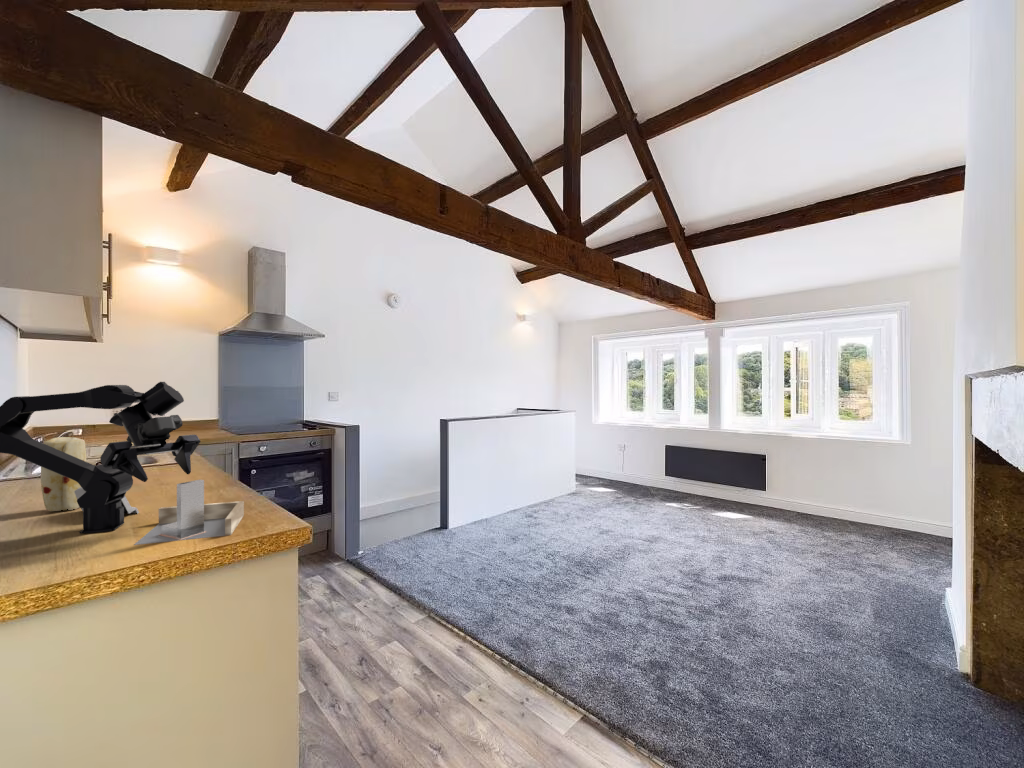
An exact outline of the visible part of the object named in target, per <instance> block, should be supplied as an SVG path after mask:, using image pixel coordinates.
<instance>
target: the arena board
mask: <svg viewBox="0 0 1024 768" xmlns="http://www.w3.org/2000/svg"><path fill="white" fill-rule="evenodd" d="M225 519H226V518H219V519H208V520H204V532H202V533H199V534H195V535H192V536H189V537H185V538H182V539H180V538H175V537H171V536H166V535H162V525H166V524H170V523H164V524H159V523H158V524H156V526H154V527H153V528H152V529H150V531H148V532H147V533H146V534H145V535H144V536H143V537H141V538H140V539H139V540H138V541H136V542H135V543H134V544H133V546H137V545H138V546H139V545H148V544H149V545H150V544H156V543H157V544H158V543H167V542H176V541H177V542H179V541H185V540H186V541H187V540H197V539H209V538H215V537H216V538H217V537H224V536H225ZM241 521H242V519H241V520H240V522H241ZM234 531H235V530H234ZM234 531H233V533H234ZM227 536H228V535H226V536H225V537H227Z"/></svg>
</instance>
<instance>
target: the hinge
mask: <svg viewBox="0 0 1024 768" xmlns="http://www.w3.org/2000/svg"><path fill="white" fill-rule="evenodd" d="M74 492H75V495H76V497H77V499H78V498H80V497H81V496H82V495H83V494H84V493H85V492H86V491H84V490H83V489H82V487H80V488H78V489H77V490H75V491H74ZM119 500H121V506H123V507H124V514H128V515H129V514H135V513H137V514H136V515H139V514H140V512H139V509H138V507H135V506H131V504H130V502H129V500H128V499H127V497H126V495H125V496H124V498H123V499H119ZM80 509H81V512H82V511H83V508H80ZM138 513H139V514H138Z"/></svg>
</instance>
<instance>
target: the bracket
mask: <svg viewBox="0 0 1024 768" xmlns="http://www.w3.org/2000/svg"><path fill="white" fill-rule="evenodd" d="M204 504H205V480H204V479H195V480H190V481H186V482H185V481H184V482H181V483H177V484H176V506H177V522H174V523H170V524H166V525H162V535H166V536H171V537H175V538H180V539H182V538H185V537H189V536H192V535H195V534H199V533H202V532H204Z"/></svg>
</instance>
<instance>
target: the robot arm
mask: <svg viewBox="0 0 1024 768" xmlns="http://www.w3.org/2000/svg"><path fill="white" fill-rule="evenodd" d="M184 402H185V400H184V397H183V395H182V394H181V393H180V391H178V390H176V389H175V388H174V387H172V386H170V385H168V383H167V382H166V381H159V382H157V383H155V385H154V386H153V387H151V388H149V390H147V391H145V392H139V391H135V390H134V389H133V388H132V387H130V386H129V385H127V384H107V385H102V386H97V387H94V388H89V389H86V390H84V391H79V392H78V391H77V392H69V393H59V394H58V393H57V394H55V393H54V394H45V395H43V394H41V395H32V396H30V395H29V396H28V395H26V396H23V395H22V396H13V397H9V398H8V399H6V400H4V402H3V403H2V404H0V454H4V455H5V454H7V455H12V456H15V457H17V458H20V459H22V460H24V461H27V462H29V463H32V464H34V465H36V466H38V467H40V468H41V467H43V468H46V469H48V470H50V471H53V472H55V473H58V474H60V475H62V476H65V477H67V478H70V479H72V480H74V481H76V482H78V483H79V485H80V486H81V487H82V489H83V490H84V491H86V492H85V493H84V494H83V495H82V496H81V497H80V498H78V499H77V503H78V505H79V508H80V509H81V508H83V512H82V529H81V530H80V531H79V532H78V533H79V535H81V534H91V533H102V532H103V533H104V532H112V531H115V530H117V529H118V528H120V527H121V526H122V525H124V524H125V513H124V507H123V506H121V500H119V499H123V498H124V496H125V497H126V493H127V492H128V491H130V489H131V488H132V487H133V485H134V479H133V477H134V478H136V479H137V480H140V481H141V482H142V483H143V482H144V483H146V482H148V480H149V478H148V475H147V473H146V471H145V469H144V468H143V466H142V464H141V462H140V460H139V459H138V456H141V455H147V456H148V455H153V454H154V455H156V454H161V453H169V452H171V454H172V456H173V457H174V461H175V462H176V464H177V465H178V466H179V467H180V468H181V469H182V471H183V472H184V473H185V474H186V475H190V474H191V473H192V472H191V471H192V467H191V466H192V464H191V463H192V462H191V461H192V460H191V455H193V453H194V452H195V450H196V449H197V447H198V446H199V445H200V444H201V439H200V438H199V436H198V435H197V434H185V435H179V436H178V437H177V438H176V440H175V441H174V442H167V440H169V439H170V437H171V434H170V433H172V432H174V431H176V430H179V429H180V428H181V427H183V425H184V424H183V420H182V418H181V416H180V415H179V414H171V415H169V416H164V415H166V414H167V413H169V412H170V411H172V410H173V409H174V408H176V407H177V406H180V405H181V404H182V403H184ZM136 403H137V404H136ZM133 404H134V405H133ZM76 408H78V409H79V408H85V409H86V408H87V409H99V410H113V409H114V410H115V409H122V410H120V411H119V412H114V413H113V416H112V417H110V419H109V420H108V421H109V423H110V424H112V425H116V426H119V427H124V429H125V431H126V433H127V435H128V436H127V438H126V440H123V441H113V442H109V443H108V444H107V445H106V447H105V449H104V450H103V453H101V455H100V463H101V464H98V465H95V464H92V463H89V462H85V461H83V460H81V459H78V458H76V457H74V456H71V455H69V454H67V453H64V452H62V451H60V450H57V449H55V448H53V447H50V446H48V445H46V444H44V442H41V441H39V440H36V439H35V438H33V437H32V436H30V435H29V433H28V432H27V430H25V429H24V428H25V427H26V426H27V424H28V423H29V421H30V419H31V416H32V415H33V414H34V413H35V412H44V411H45V412H46V411H54V410H55V411H56V410H64V409H67V410H68V409H76ZM156 415H157V416H158V417H156ZM153 416H155V417H153Z"/></svg>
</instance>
